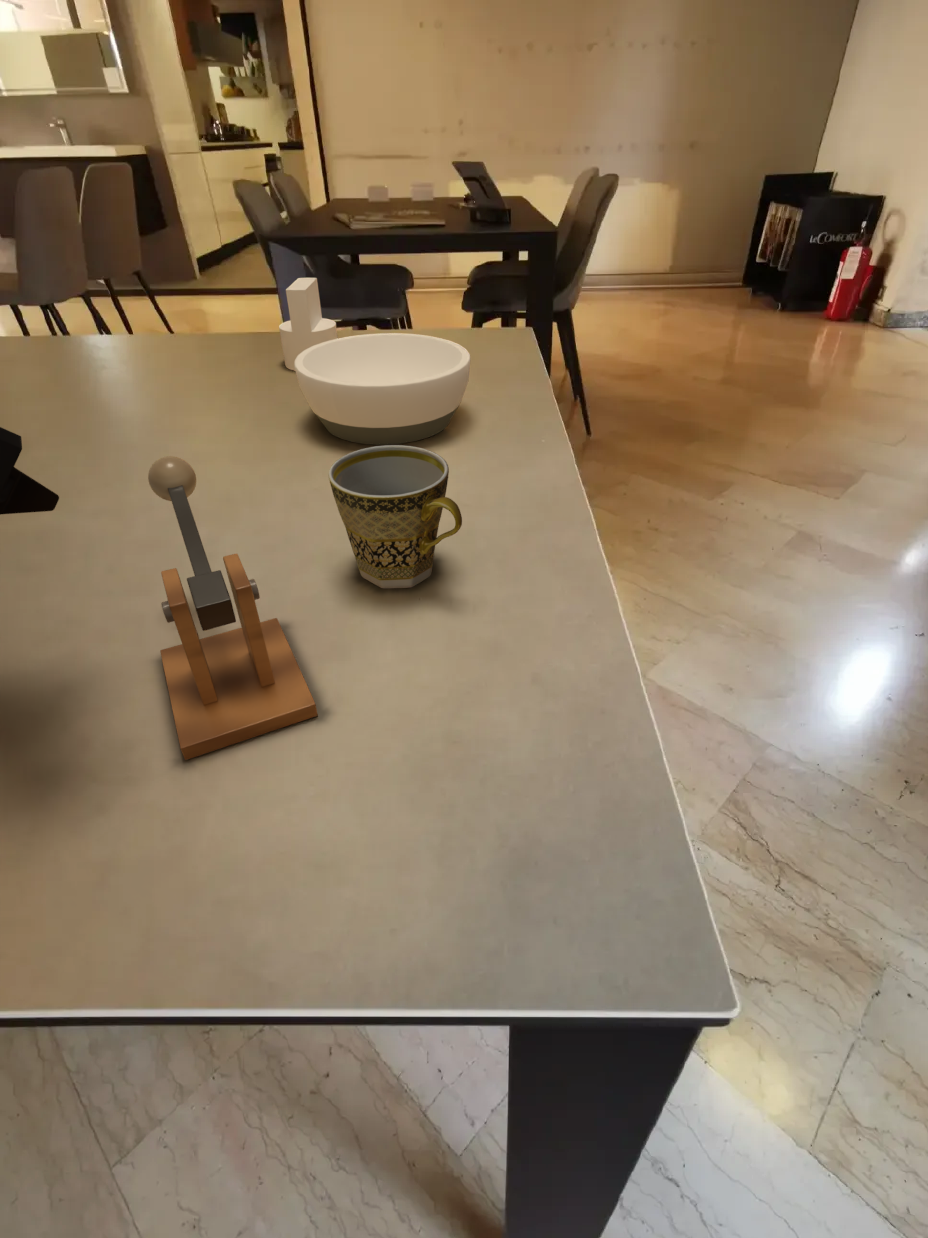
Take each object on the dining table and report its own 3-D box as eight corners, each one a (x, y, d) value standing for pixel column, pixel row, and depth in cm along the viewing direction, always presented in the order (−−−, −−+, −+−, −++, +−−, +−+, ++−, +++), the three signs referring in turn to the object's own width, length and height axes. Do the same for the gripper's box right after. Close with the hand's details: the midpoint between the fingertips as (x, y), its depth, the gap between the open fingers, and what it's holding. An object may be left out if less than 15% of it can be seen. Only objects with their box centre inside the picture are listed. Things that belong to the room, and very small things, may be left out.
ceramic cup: (320, 571, 61) (303, 471, 55) (398, 530, 67) (391, 435, 61) (420, 630, 55) (414, 522, 48) (497, 578, 60) (501, 476, 54)
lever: (150, 486, 53) (139, 451, 50) (195, 478, 54) (186, 443, 51) (195, 638, 44) (184, 606, 42) (246, 624, 46) (238, 592, 43)
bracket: (164, 661, 52) (123, 554, 46) (279, 628, 55) (255, 524, 49) (185, 760, 44) (139, 647, 38) (318, 715, 47) (295, 604, 41)
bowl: (497, 406, 94) (499, 344, 89) (417, 467, 79) (413, 397, 73) (365, 382, 103) (359, 325, 97) (268, 434, 87) (255, 368, 82)
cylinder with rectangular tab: (335, 371, 107) (325, 290, 99) (279, 371, 107) (265, 290, 100) (344, 355, 114) (335, 277, 107) (292, 355, 114) (279, 277, 107)
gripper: (-130, 230, 26) (183, 418, 40) (-273, 200, 35) (25, 363, 49) (-251, 488, 26) (106, 587, 40) (-366, 394, 35) (-39, 502, 48)
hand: (46, 498), depth 44 cm, fingers closed
